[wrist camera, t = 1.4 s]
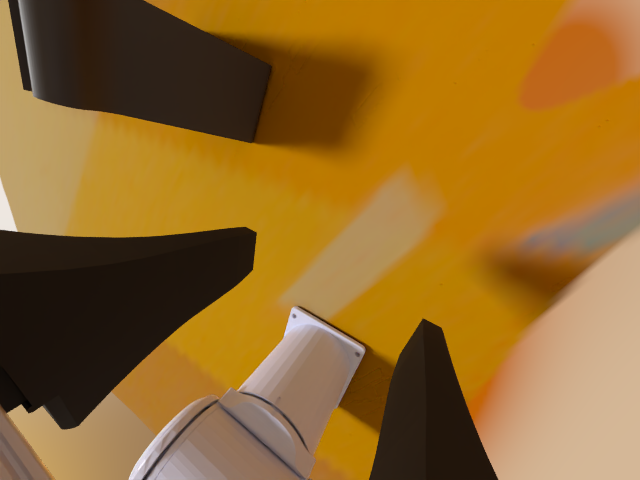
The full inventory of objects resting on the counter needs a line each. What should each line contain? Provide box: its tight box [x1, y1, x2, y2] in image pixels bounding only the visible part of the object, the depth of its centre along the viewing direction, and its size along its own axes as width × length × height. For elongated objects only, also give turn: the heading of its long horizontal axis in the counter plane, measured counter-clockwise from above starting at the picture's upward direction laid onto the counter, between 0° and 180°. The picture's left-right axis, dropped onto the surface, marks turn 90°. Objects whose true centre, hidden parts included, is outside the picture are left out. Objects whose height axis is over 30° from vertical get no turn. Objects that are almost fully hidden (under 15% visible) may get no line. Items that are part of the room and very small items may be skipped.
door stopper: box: [8, 0, 271, 143], centre depth 16 cm, size 9×6×12 cm, turn 66°
